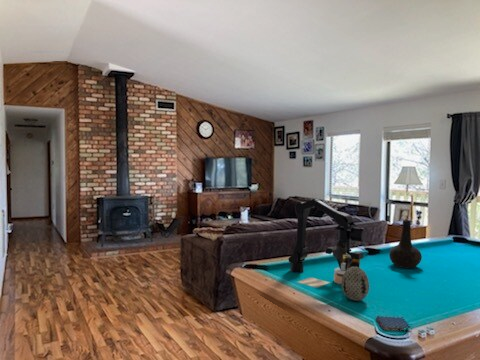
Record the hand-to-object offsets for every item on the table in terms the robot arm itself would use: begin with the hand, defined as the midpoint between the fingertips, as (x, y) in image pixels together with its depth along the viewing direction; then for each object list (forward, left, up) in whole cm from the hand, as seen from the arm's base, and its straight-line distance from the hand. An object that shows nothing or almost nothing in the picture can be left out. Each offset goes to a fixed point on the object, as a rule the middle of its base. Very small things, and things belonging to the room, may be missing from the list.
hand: (343, 269), depth 192 cm
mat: (-10, -12, -7) cm, 17 cm away
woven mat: (+39, -32, -8) cm, 51 cm away
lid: (0, 0, -1) cm, 1 cm away
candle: (-6, +17, -7) cm, 19 cm away
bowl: (0, 0, -7) cm, 7 cm away
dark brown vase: (+8, +58, -7) cm, 59 cm away
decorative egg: (+16, -18, -7) cm, 25 cm away
